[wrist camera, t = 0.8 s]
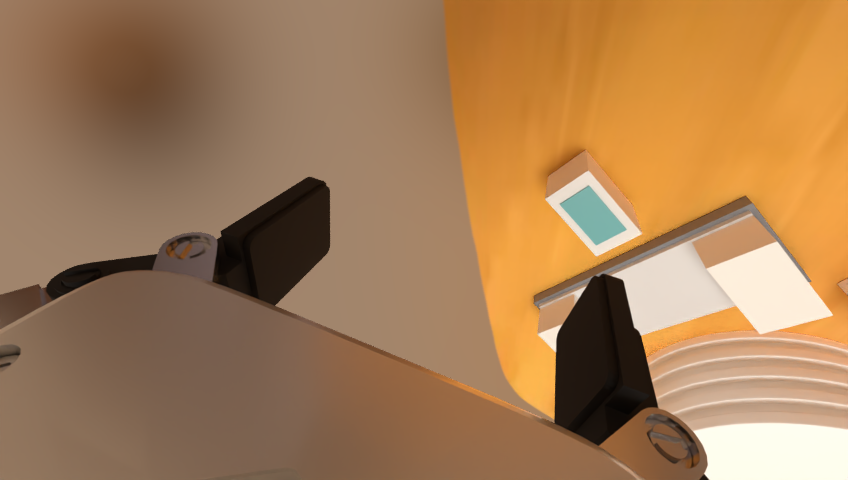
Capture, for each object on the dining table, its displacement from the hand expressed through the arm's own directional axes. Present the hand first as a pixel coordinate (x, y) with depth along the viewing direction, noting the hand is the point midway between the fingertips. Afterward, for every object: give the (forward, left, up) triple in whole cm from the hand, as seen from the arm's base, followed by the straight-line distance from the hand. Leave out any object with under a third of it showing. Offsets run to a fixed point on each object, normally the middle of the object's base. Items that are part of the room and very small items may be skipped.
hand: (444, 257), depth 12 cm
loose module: (+1, +12, -28) cm, 31 cm away
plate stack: (+4, +49, -29) cm, 57 cm away
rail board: (+3, +26, -28) cm, 38 cm away
